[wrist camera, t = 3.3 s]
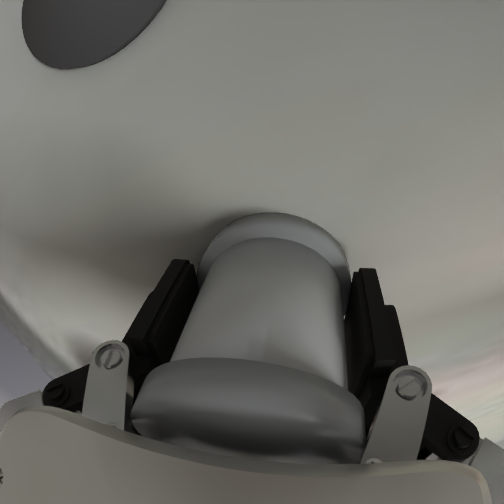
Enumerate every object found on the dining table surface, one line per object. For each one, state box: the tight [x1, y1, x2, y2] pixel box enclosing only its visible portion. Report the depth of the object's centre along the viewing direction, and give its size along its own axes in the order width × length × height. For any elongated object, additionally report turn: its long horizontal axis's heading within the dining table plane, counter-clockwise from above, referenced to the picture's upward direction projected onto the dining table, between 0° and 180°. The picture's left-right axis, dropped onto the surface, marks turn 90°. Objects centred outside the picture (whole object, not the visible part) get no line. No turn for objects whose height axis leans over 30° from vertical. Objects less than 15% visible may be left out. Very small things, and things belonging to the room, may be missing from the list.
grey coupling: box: [130, 213, 366, 464], centre depth 9 cm, size 6×6×7 cm
